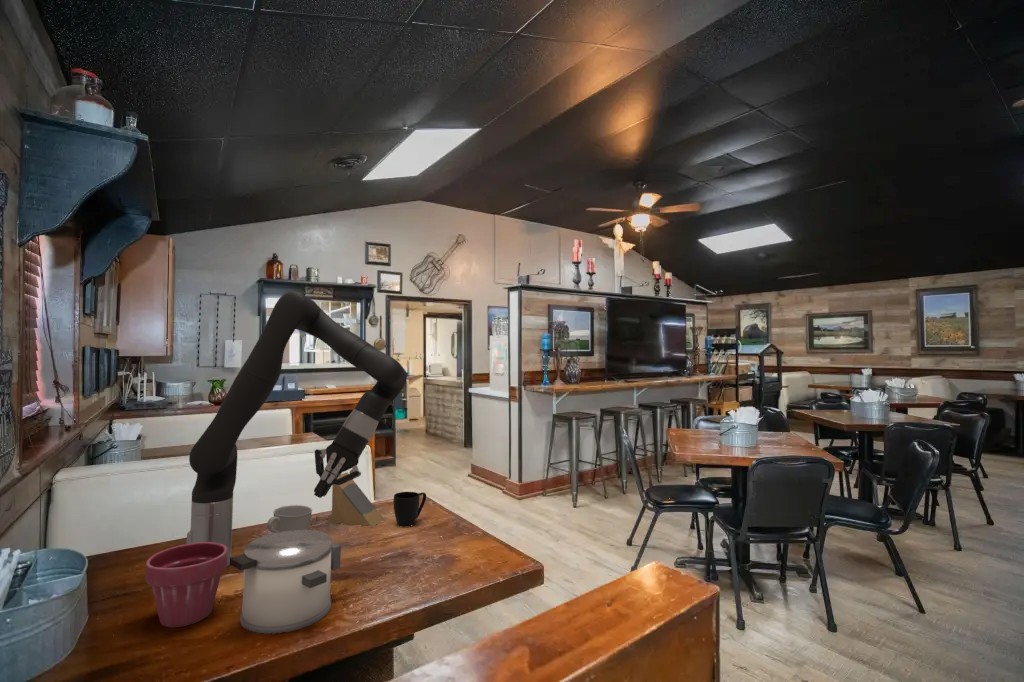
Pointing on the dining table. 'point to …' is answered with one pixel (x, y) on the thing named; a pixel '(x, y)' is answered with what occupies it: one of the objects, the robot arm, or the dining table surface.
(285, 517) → the teacup
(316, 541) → the lid
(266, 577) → the oval food canister
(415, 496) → the mug
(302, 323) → the robot arm
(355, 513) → the sandwich container
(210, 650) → the dining table surface
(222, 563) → the plant pot
